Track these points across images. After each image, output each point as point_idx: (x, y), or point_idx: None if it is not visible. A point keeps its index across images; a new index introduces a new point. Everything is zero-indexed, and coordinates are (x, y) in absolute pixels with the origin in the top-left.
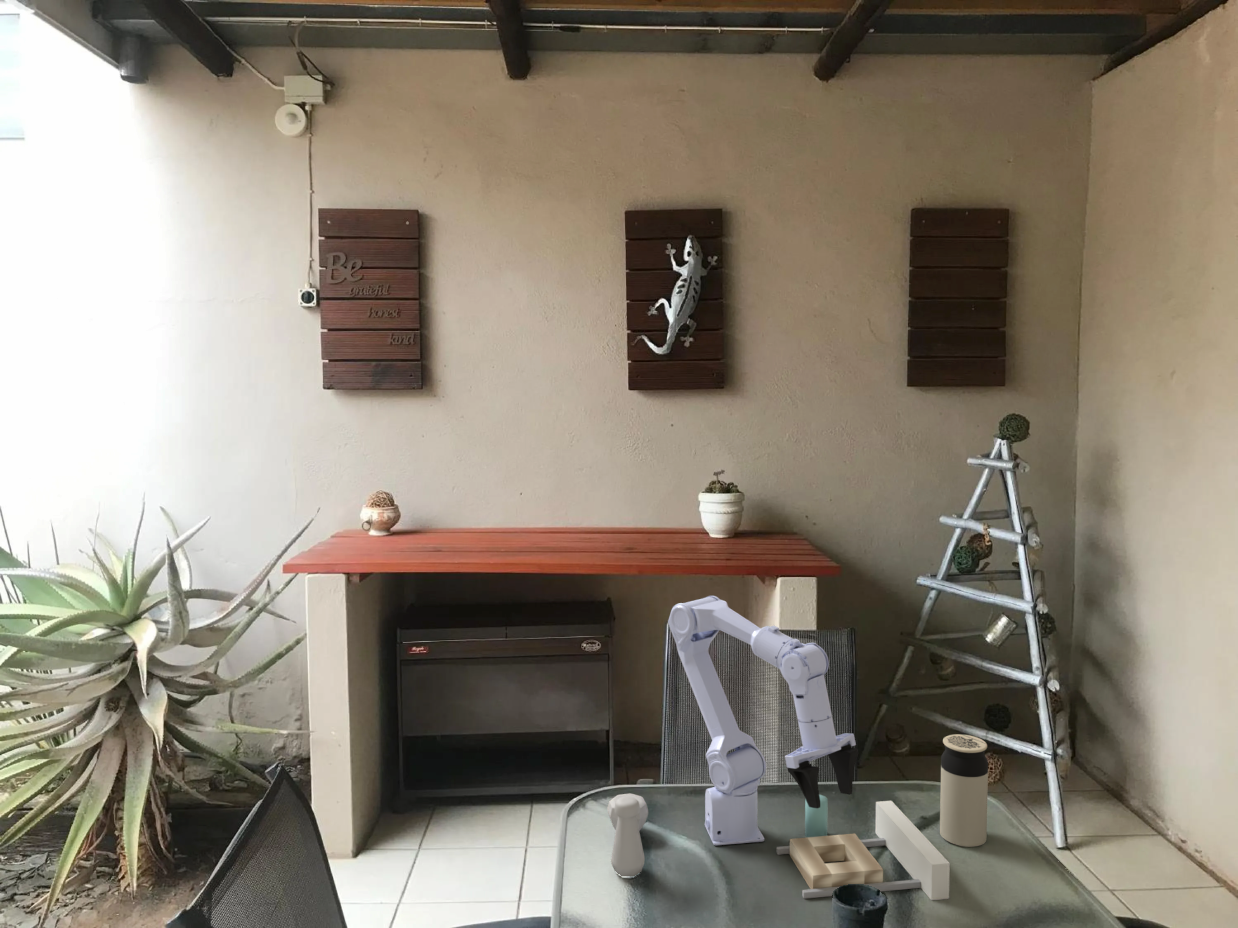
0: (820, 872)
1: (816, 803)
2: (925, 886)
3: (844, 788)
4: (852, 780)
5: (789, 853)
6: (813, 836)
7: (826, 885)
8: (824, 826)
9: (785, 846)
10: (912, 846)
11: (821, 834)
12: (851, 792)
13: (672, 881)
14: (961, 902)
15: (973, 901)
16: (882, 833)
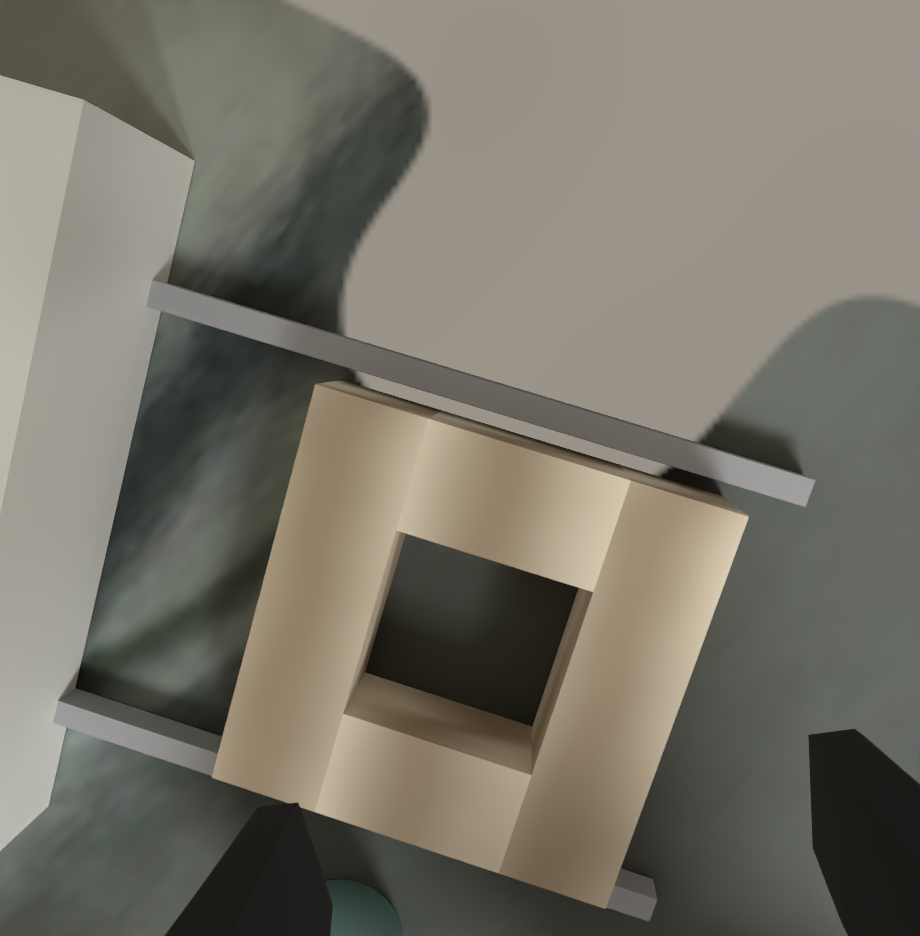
0: (683, 523)
1: (895, 765)
2: (163, 223)
3: (303, 902)
4: (178, 921)
5: None
6: (385, 915)
7: (653, 478)
8: None
9: None
10: (41, 392)
11: (343, 903)
12: (262, 812)
13: None
14: (67, 75)
15: (4, 56)
16: (40, 746)
